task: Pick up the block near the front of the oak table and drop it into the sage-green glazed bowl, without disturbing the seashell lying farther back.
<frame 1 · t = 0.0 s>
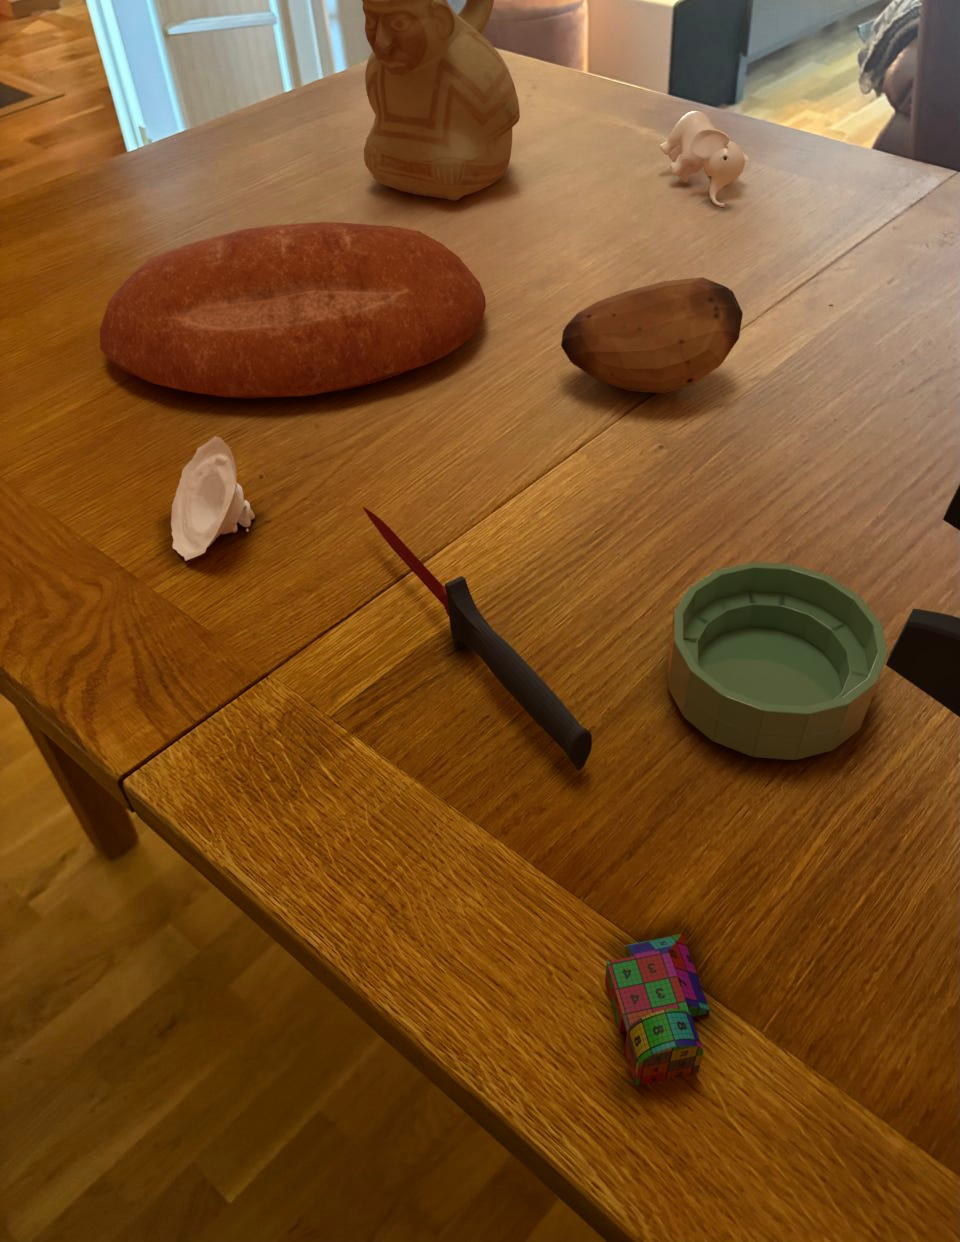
hand: (928, 560, 33), 22 cm above the table, tool horizontal, fingers open, 7 cm apart
bowl: (765, 686, 58), on the table
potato: (646, 387, 80), on the table
elephant figurine: (705, 187, 104), on the table
seashell: (215, 535, 70), on the table
knife: (461, 645, 62), on the table
ceramic vessel: (449, 178, 108), on the table
block: (659, 1009, 46), on the table
bread: (299, 339, 87), on the table
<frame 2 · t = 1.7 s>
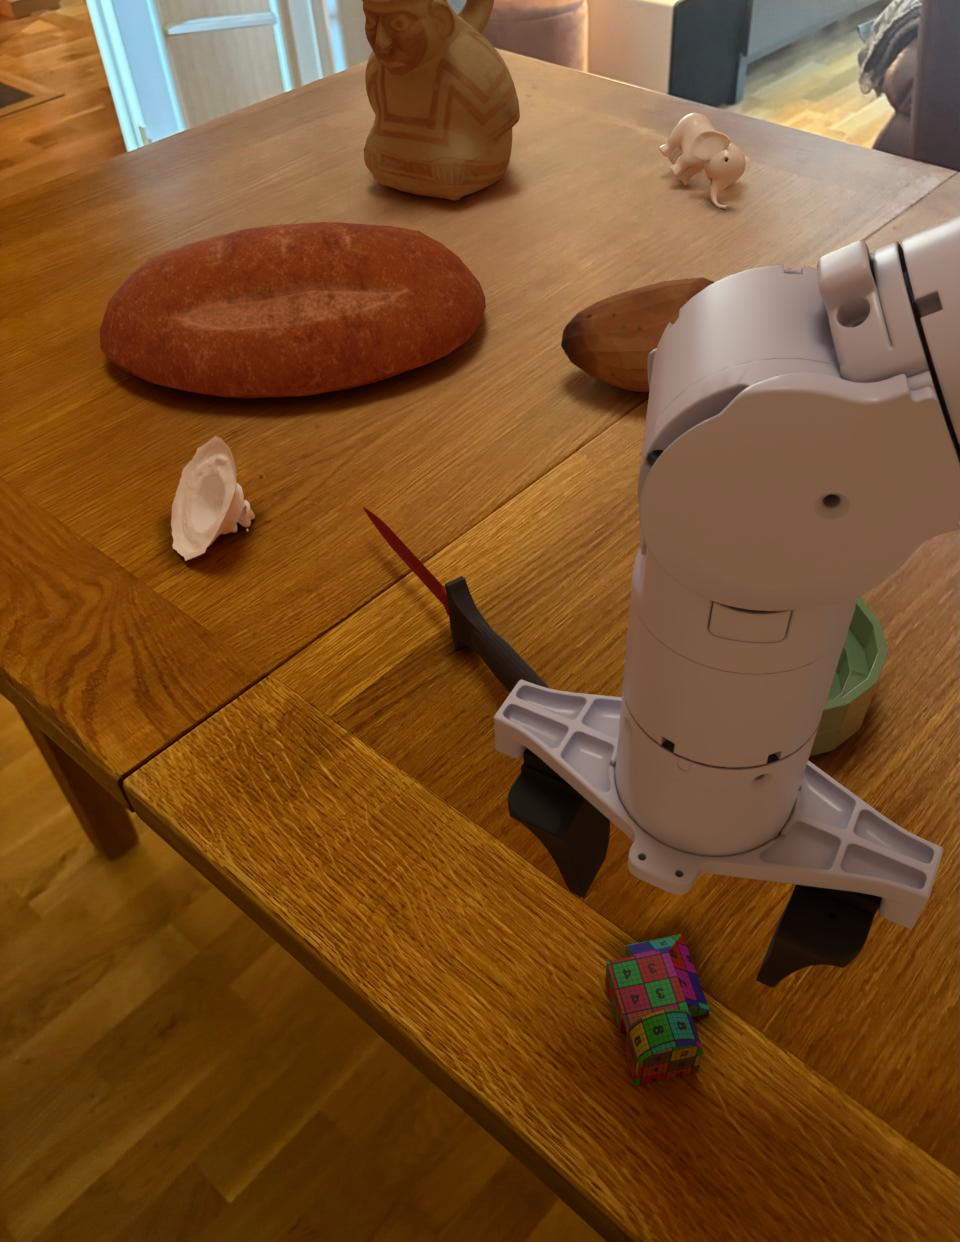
hand: (677, 917, 40), 8 cm above the table, tool pointing down, fingers open, 7 cm apart
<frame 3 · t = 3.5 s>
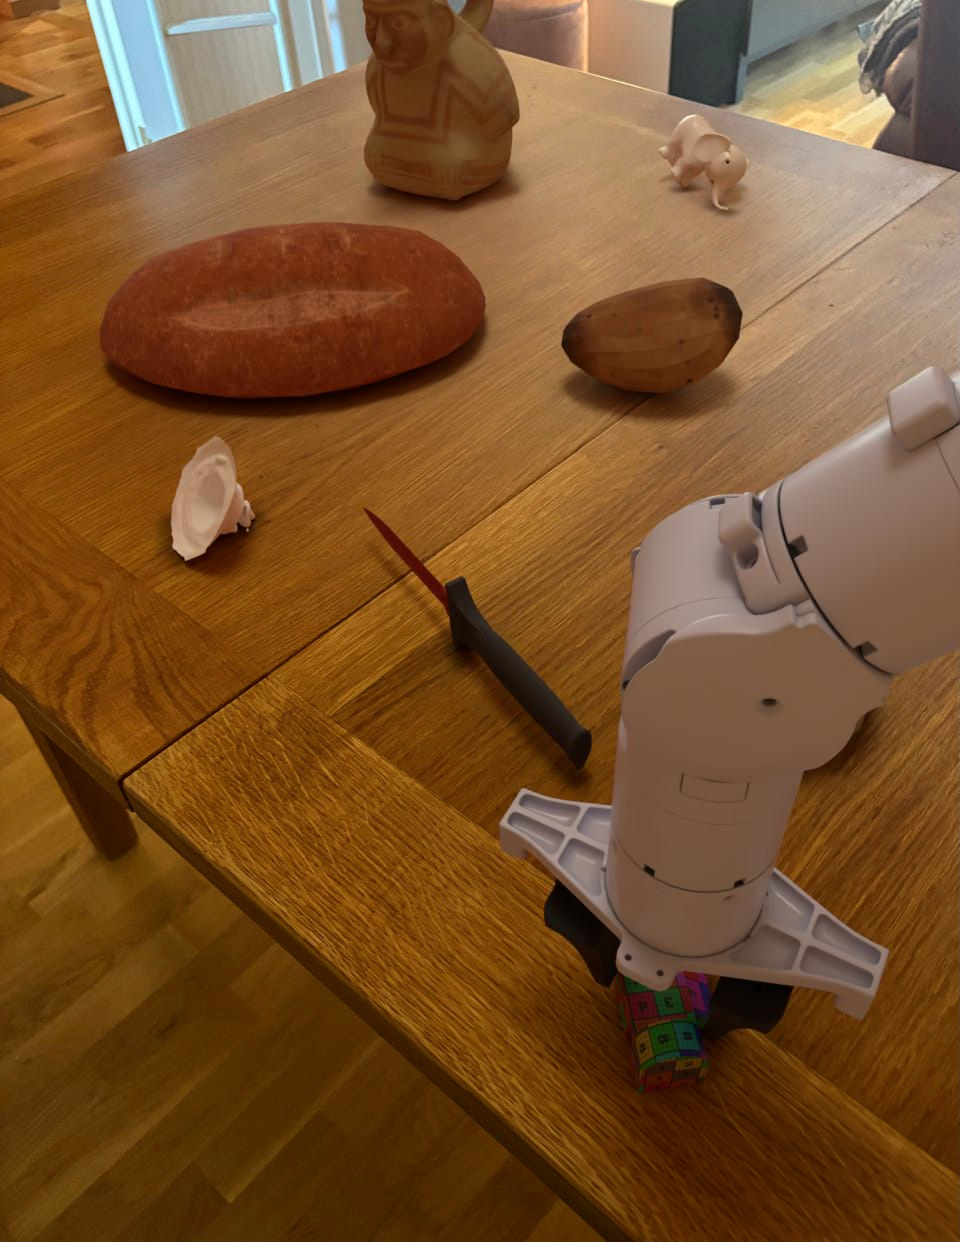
hand: (662, 991, 44), 2 cm above the table, tool pointing down, fingers closed on block, 4 cm apart
block: (667, 1018, 45), on the table, touching gripper
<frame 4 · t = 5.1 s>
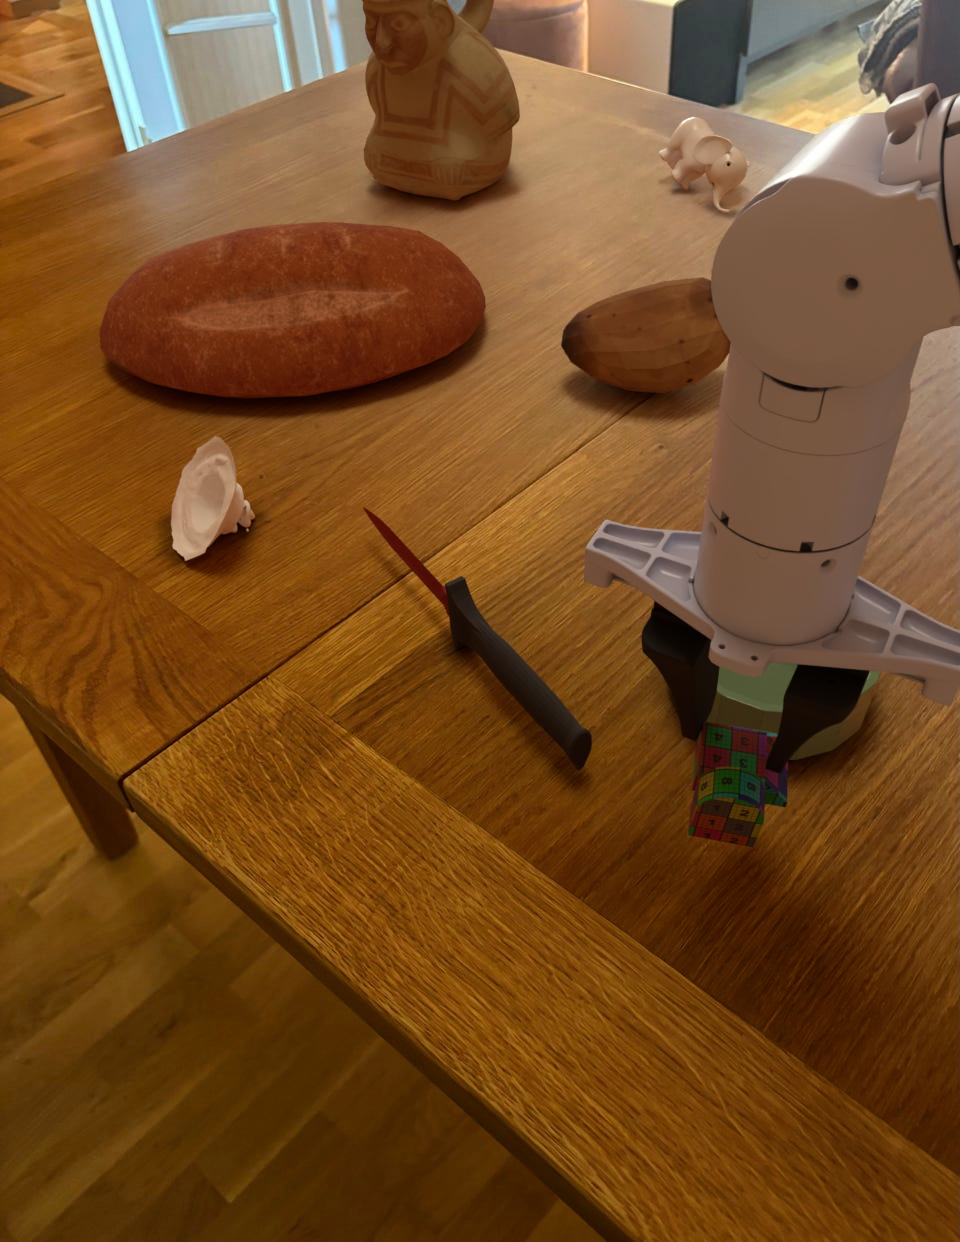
hand: (737, 738, 45), 8 cm above the table, tool pointing down, fingers closed on block, 3 cm apart
block: (738, 788, 46), point 6 cm above the table, touching gripper
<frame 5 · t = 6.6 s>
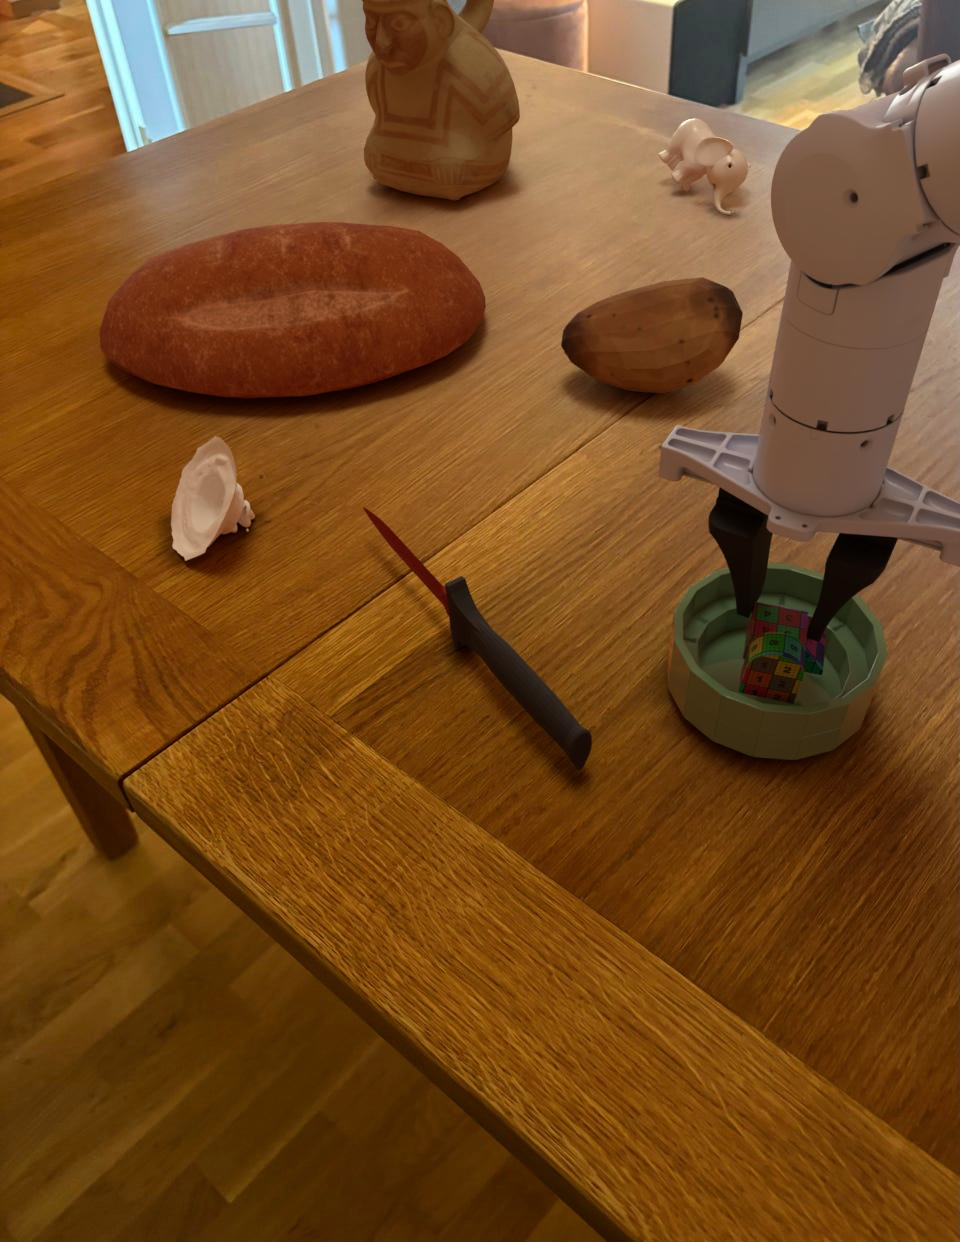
hand: (782, 615, 54), 6 cm above the table, tool pointing down, fingers closed on block, 3 cm apart
block: (782, 659, 54), point 4 cm above the table, touching gripper
when the fingers open (4 cm above the table, at t = 7.3 s): block stays where it is, resting on bowl.
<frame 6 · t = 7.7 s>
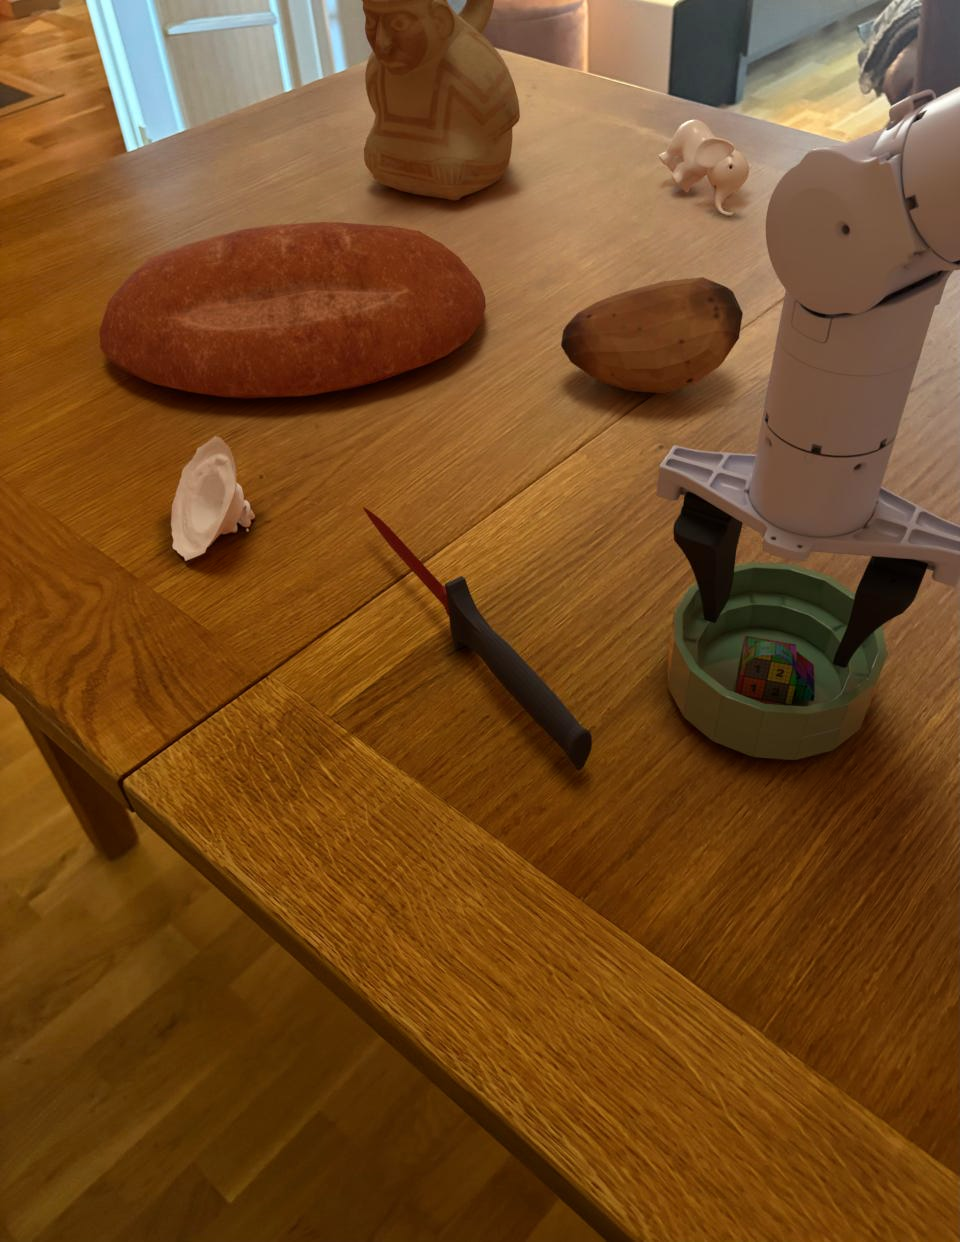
hand: (778, 631, 55), 5 cm above the table, tool pointing down, fingers open, 6 cm apart
block: (773, 691, 56), point 1 cm above the table, touching bowl
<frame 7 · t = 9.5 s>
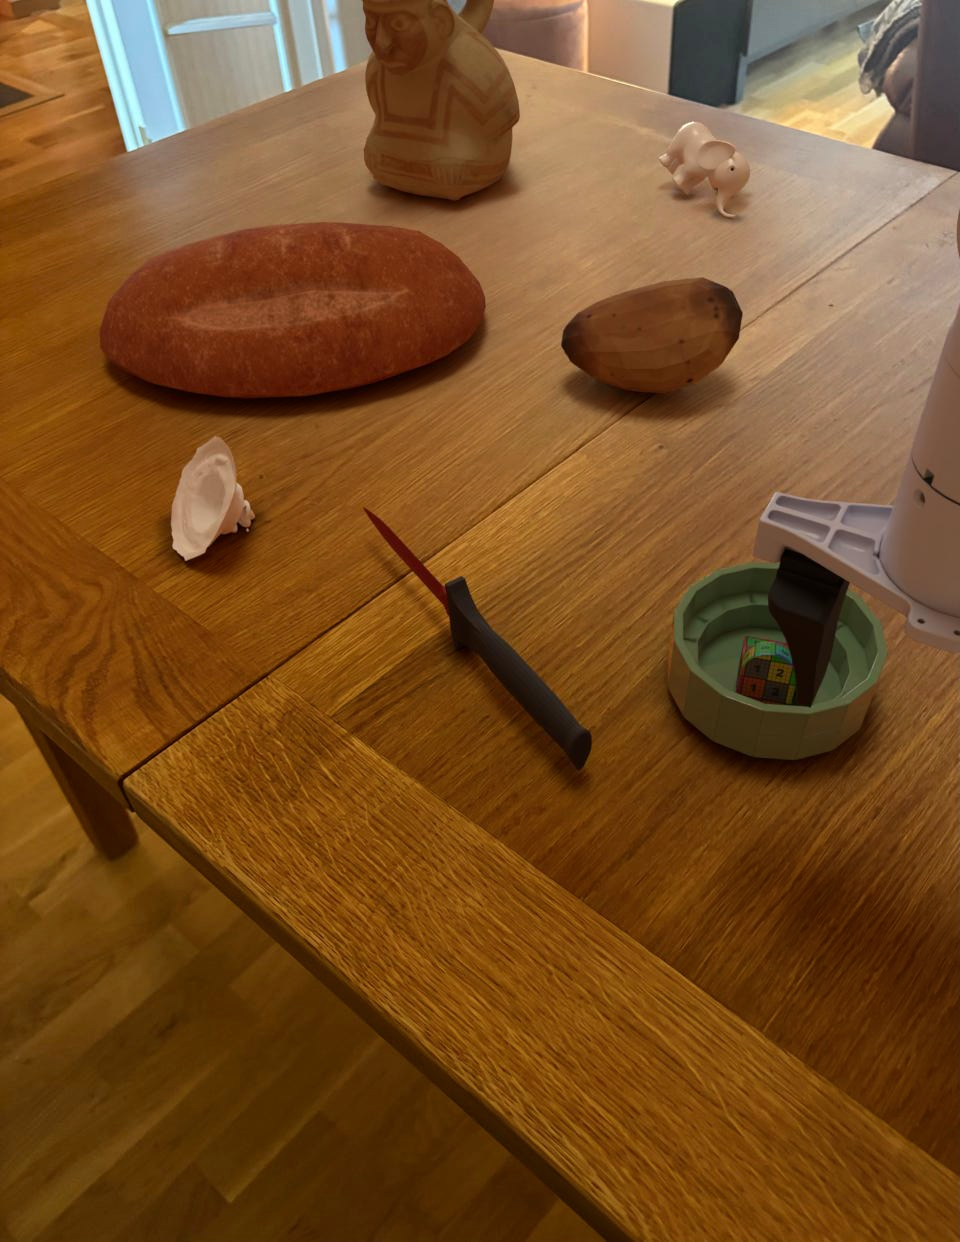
hand: (898, 721, 44), 10 cm above the table, tool pointing down, fingers open, 7 cm apart
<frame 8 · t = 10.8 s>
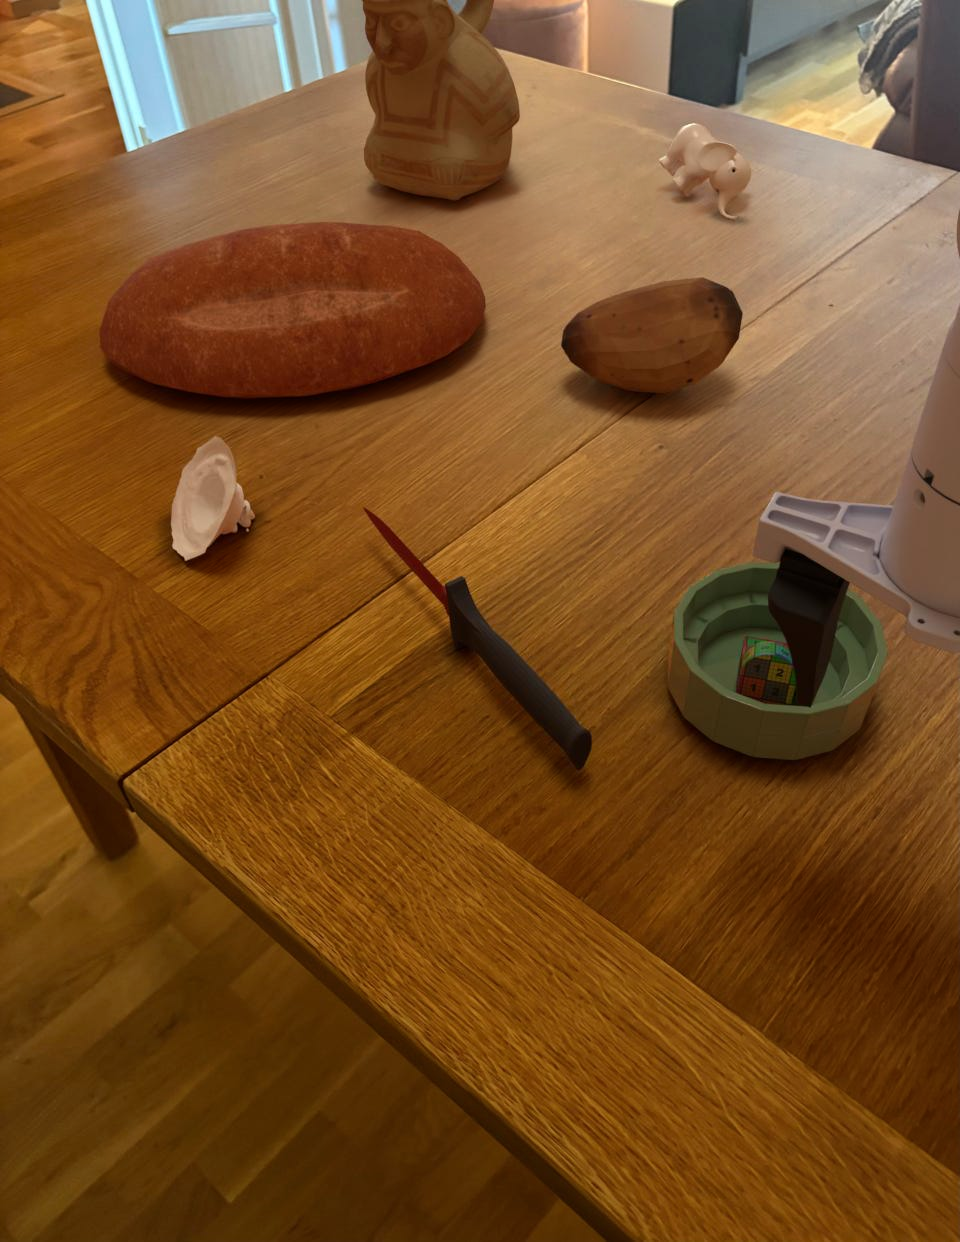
hand: (898, 721, 44), 10 cm above the table, tool pointing down, fingers open, 7 cm apart
at the end: block inside the target area in the bowl (1.6 cm from its centre), point 1.5 cm above the bowl's base; the gripper is holding nothing; seashell moved 0.2 cm from its start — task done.
